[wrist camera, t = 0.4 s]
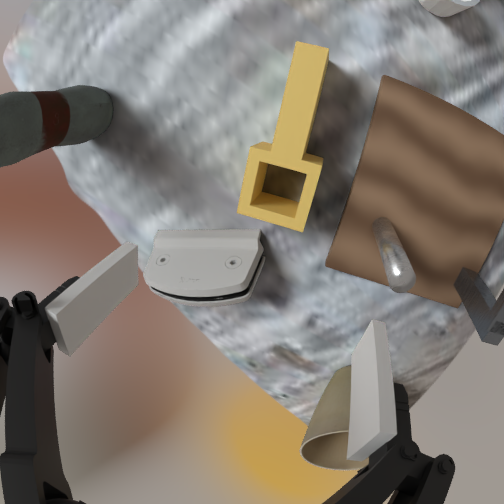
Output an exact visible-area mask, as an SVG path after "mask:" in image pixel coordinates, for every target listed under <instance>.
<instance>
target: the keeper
mask: <svg viewBox="0 0 504 504" xmlns="http://www.w3.org/2000/svg"><path fill="white" fill-rule="evenodd" d="M453 285H454V287H455V289H456V291H457V292H458V294H459V296H460V298H461V300H462V302H463V304H464V306H465V307H466V309H467V311H468V313H469V315H470V317H471V319H472V321H473V323H474V325H475V328H476V330H477V332H478V334H479V336H480V338H481V340H482V342H486V343H490V344H493V345H498V344H499V343H500V341H501V340H502V338H503V337H504V289H503V291H502V293H501V294H500V296H499V298H498V299H497V301H496V299H495V298H494V296H493V295H492V293H491V292H490V290H489V289H488V287H487V286H486V284H485V283H484V281H483V280H482V278H481V277H480V276H479V274H478V273H477V272H475V271H472V270H470V269H467V268H465V267H463V268H462V270H461V271H460V273H459V275H458V277H457V279H456V281H455V282H454V284H453Z"/></svg>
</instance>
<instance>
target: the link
mask: <svg viewBox="0 0 504 504" xmlns="http://www.w3.org/2000/svg"><path fill="white" fill-rule="evenodd" d="M328 61H329V49H328V48H324V47H320V46H316V45H311V44H307V43H302V42H297V41H296V45H295V49H294V53H293V58H292V62H291V66H290V70H289V75H288V79H287V83H286V87H285V92H284V96H283V100H282V105H281V109H280V113H279V118H278V122H277V126H276V130H275V135H274V139H273V143H272V144H270V143H266V142H261V143H258V144H256V145H253V146H251V147H250V150H249V155H248V160H247V165H246V169H245V174H244V179H243V184H242V189H241V194H240V199H239V204H238V209H237V213H239V214H243V215H246V216H250V217H253V218H256V219H260V220H263V221H267V222H270V223H273V224H277V225H280V226H283V227H287V228H290V229H293V230H297V231H300V232H303V230H304V227H305V223H306V220H307V217H308V213H309V210H310V207H311V203H312V200H313V197H314V193H315V190H316V186H317V183H318V179H319V176H320V172H321V169H322V164H323V158H322V157H318V156H315V155H311V154H308V153H306V150H307V146H308V143H309V139H310V135H311V131H312V127H313V123H314V119H315V115H316V111H317V107H318V103H319V99H320V95H321V91H322V87H323V82H324V78H325V74H326V70H327V66H328ZM268 163H269V164H273V165H276V166H280V167H284V168H287V169H291V170H295V171H298V172H302V173H305V174H307V176H306V180H305V183H304V187H303V191H302V194H301V198H300V201H299V202H297V201H293V200H290V199H287V198H283V197H280V196H276V195H273V194H269V193H265V192H262V188H263V184H264V180H265V175H266V171H267V167H268Z"/></svg>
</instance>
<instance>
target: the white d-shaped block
mask: <svg viewBox="0 0 504 504" xmlns="http://www.w3.org/2000/svg"><path fill="white" fill-rule="evenodd" d="M260 236H261V230H260V229H212V230H158V232H157V233H156V235H155V237H154V248H153V251H152V253H151V256H150V258H149V261H148V263H147V266H146V268H145V271H144V274H143V276H144V279H145V282H146V283H147V284H148V285H149V288H150V289H151V290H152V291H153V292H154V293H155V294H157V295H158V296H160V297H162V298H165V299H167V300H169V301H172V302H175V303H179V304H183V305H189V306H199V307H214V306H225V305H231V304H237V303H241V302H245V301H247V300H248V299H249V298H250V297H251V294H252V292H253V289H254V287H255V285H256V282H257V280H258V277H259V275H260V272H261V270H262V268H263V265H264V263H265V256H261V255H262V253H263V250H264V249H263V247H262V244H261V242H260V240H259V239H260Z"/></svg>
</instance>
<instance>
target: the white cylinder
mask: <svg viewBox="0 0 504 504" xmlns="http://www.w3.org/2000/svg"><path fill="white" fill-rule="evenodd" d="M479 1H480V0H419V2H420V3H421V5H422V6H423V7H424V8H425V9H426V10H427V11H429V12H431V13H432V14H434V15H436V16H440V17H449V16H452V15H454V14H456V13H459V12H461V11H463V10H465V9H468V8H470V7H473V6H475V5H476V4H477V3H478V2H479Z"/></svg>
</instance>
